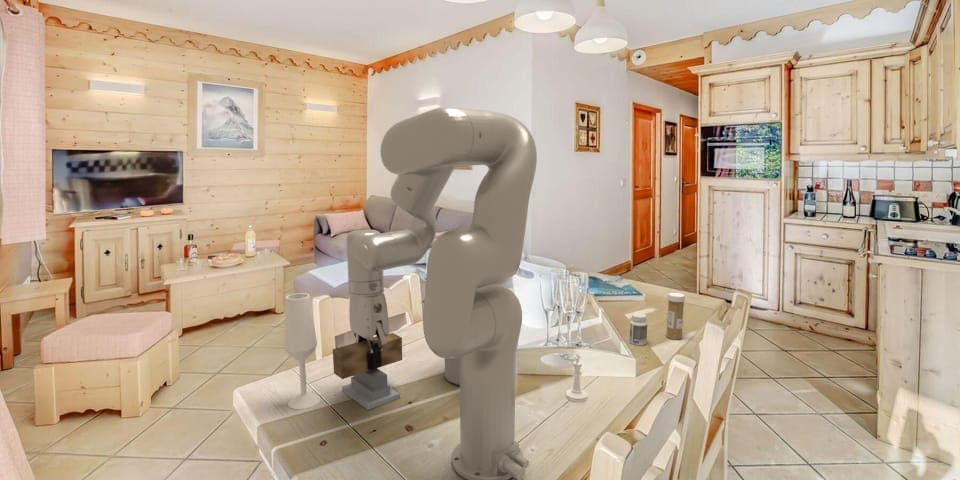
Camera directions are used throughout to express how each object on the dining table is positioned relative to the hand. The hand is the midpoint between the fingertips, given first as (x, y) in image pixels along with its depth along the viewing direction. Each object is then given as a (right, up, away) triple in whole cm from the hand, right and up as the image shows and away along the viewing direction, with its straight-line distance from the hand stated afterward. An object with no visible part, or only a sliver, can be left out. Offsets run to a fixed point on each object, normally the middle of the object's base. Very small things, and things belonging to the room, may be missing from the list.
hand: (369, 364), depth 108 cm
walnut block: (0, -1, 0) cm, 0 cm away
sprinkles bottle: (+83, -2, +36) cm, 91 cm away
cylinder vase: (+23, -6, +10) cm, 25 cm away
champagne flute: (-14, -8, -2) cm, 16 cm away
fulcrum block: (0, -7, +1) cm, 7 cm away
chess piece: (+47, -8, 0) cm, 47 cm away
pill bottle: (+71, -2, +32) cm, 78 cm away
